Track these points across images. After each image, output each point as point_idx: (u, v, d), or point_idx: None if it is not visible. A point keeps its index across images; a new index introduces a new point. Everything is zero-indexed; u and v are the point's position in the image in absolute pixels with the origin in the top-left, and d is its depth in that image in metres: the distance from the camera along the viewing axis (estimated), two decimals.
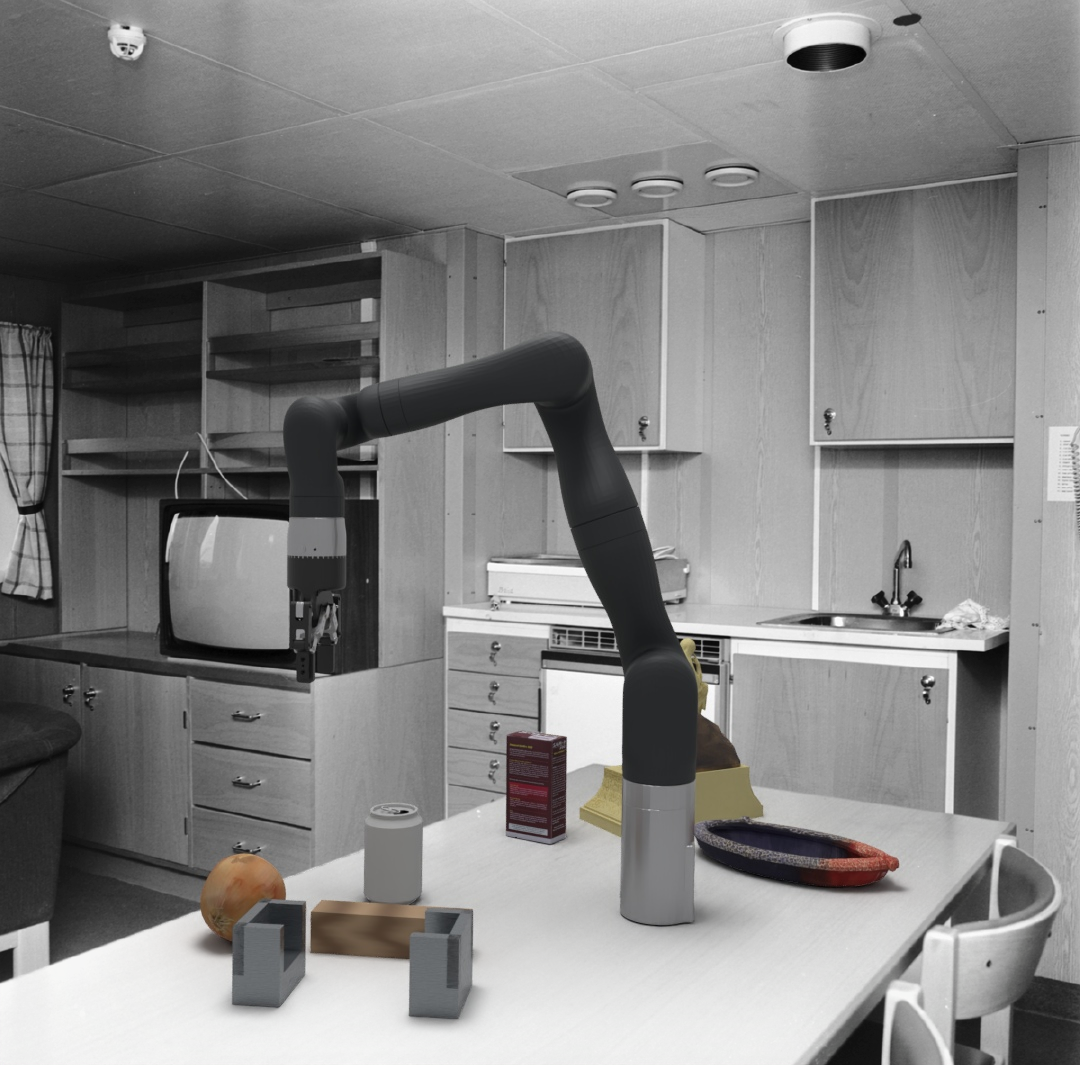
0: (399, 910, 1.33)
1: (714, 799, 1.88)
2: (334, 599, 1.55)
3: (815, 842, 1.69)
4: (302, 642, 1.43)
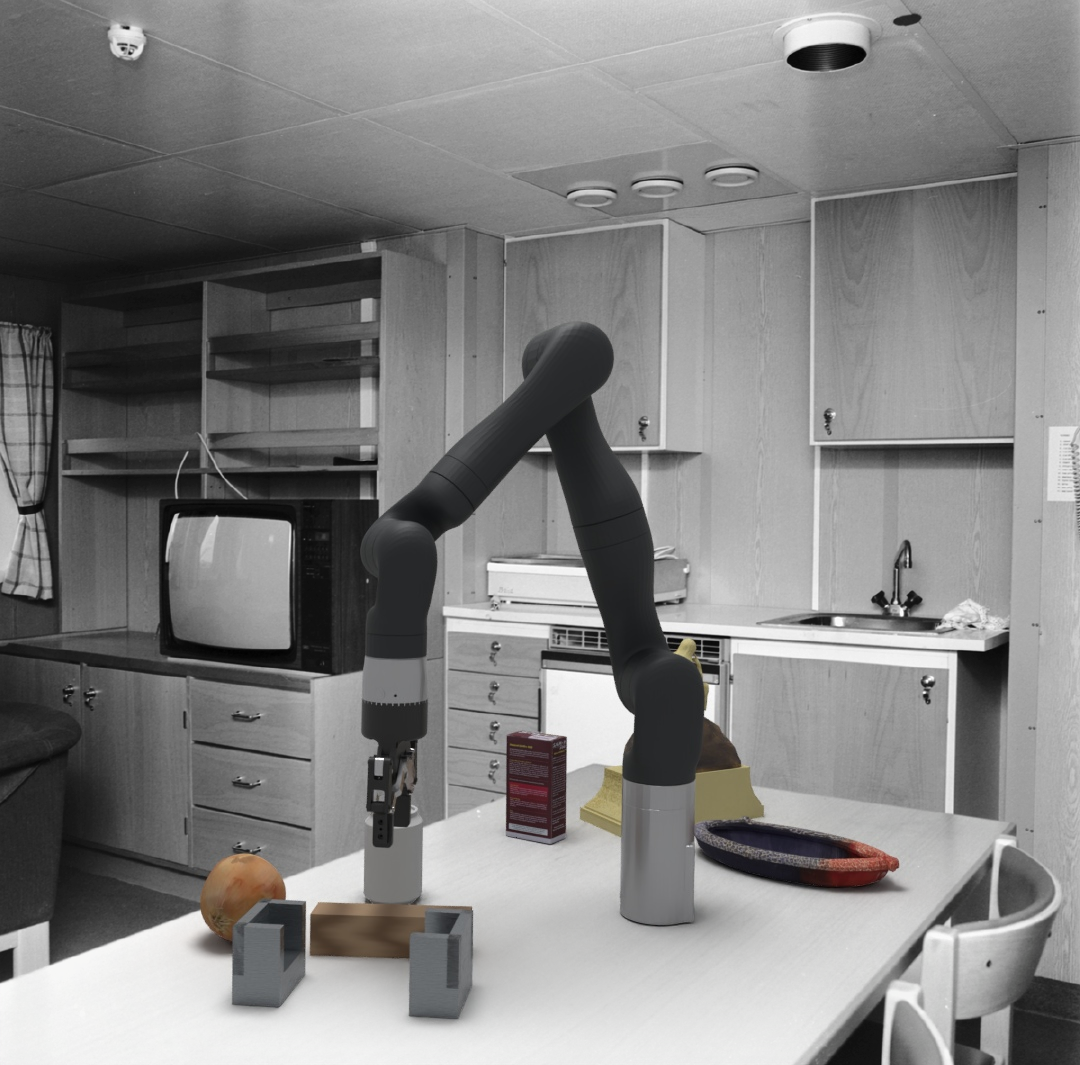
0: (399, 910, 1.33)
1: (715, 799, 1.88)
2: (410, 742, 1.38)
3: (816, 842, 1.69)
4: (381, 804, 1.26)
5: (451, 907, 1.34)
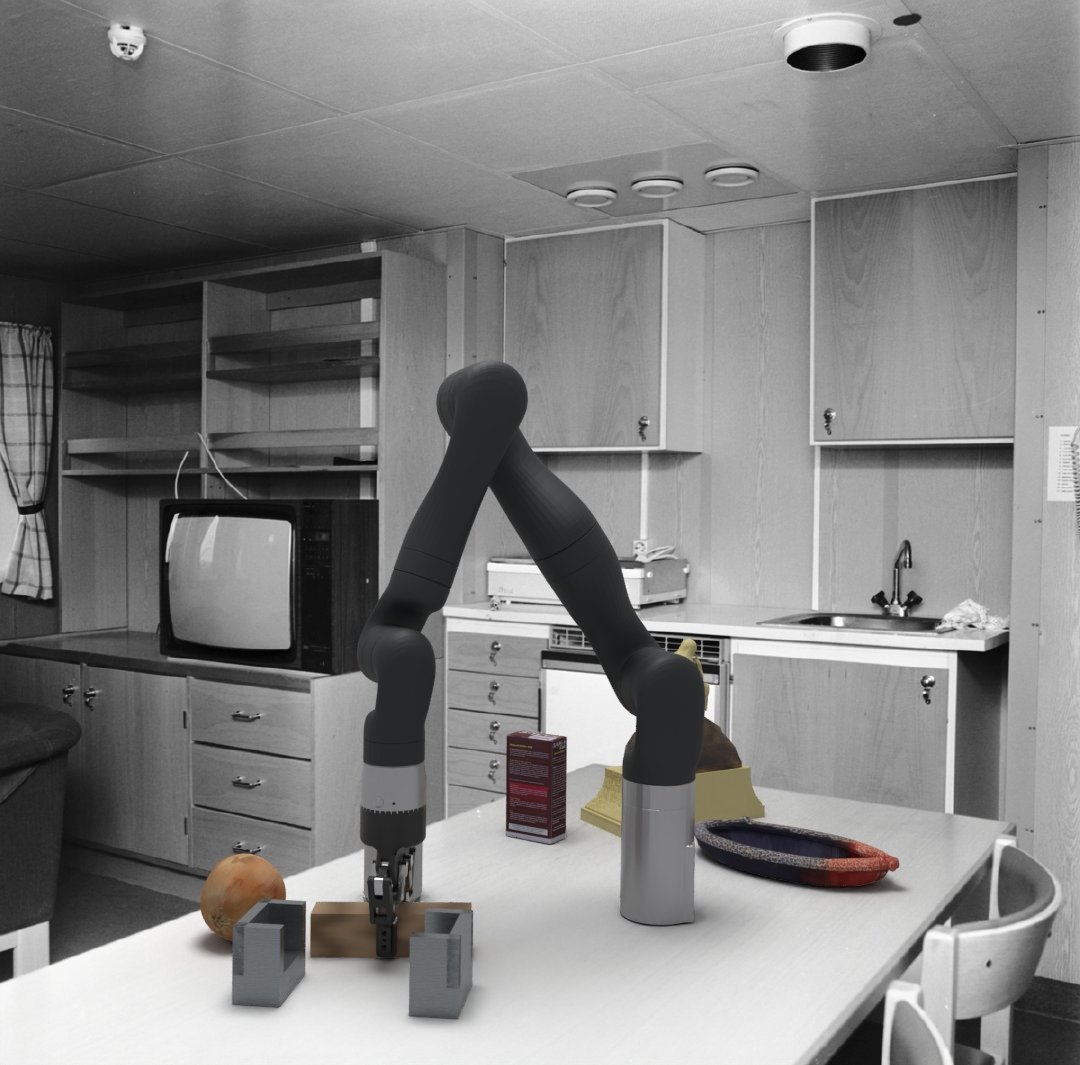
0: (399, 907, 1.33)
1: (715, 799, 1.88)
2: (409, 850, 1.38)
3: (816, 842, 1.69)
4: (385, 917, 1.28)
5: (451, 903, 1.34)
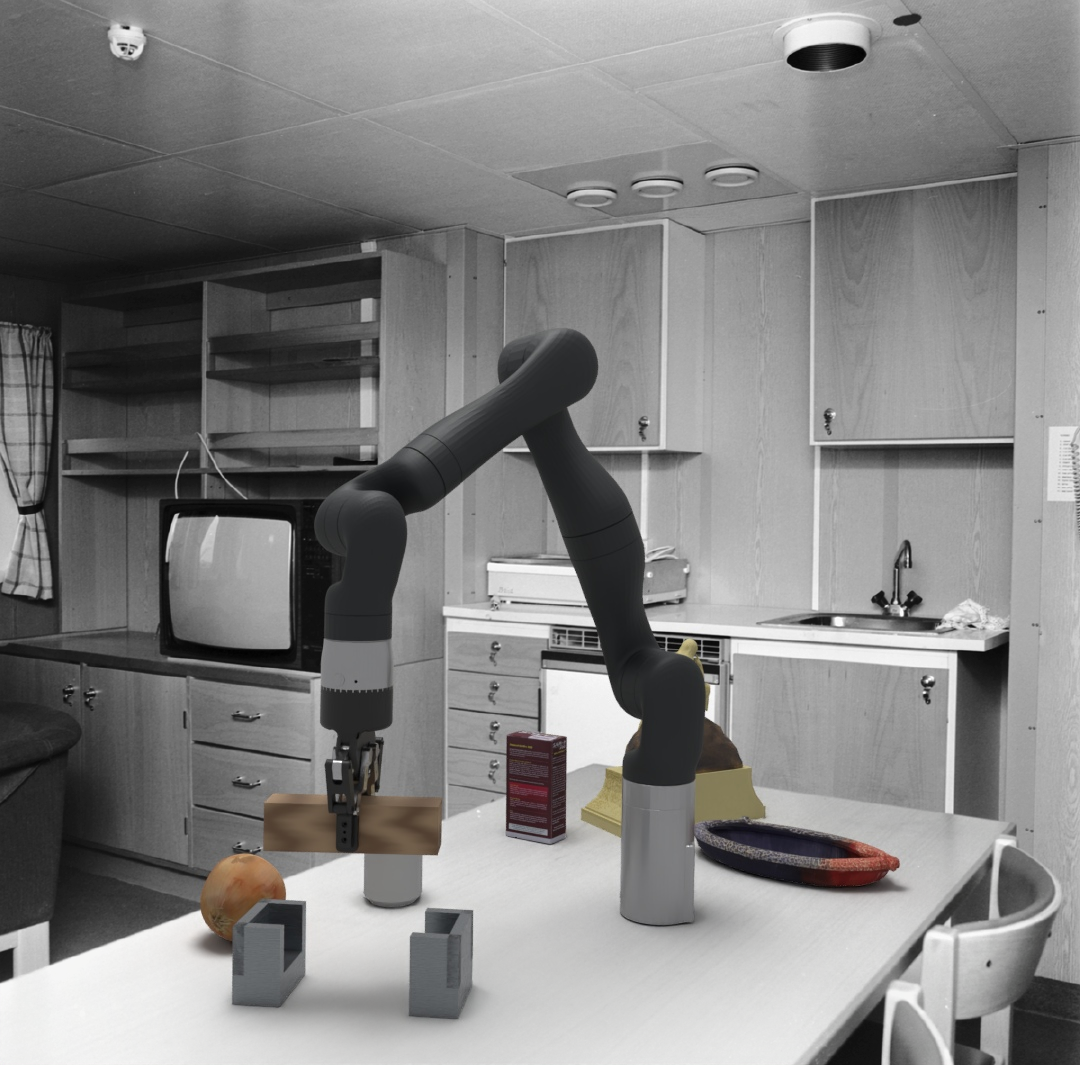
0: (362, 800, 1.21)
1: (716, 800, 1.87)
2: (376, 742, 1.27)
3: (816, 842, 1.69)
4: (344, 805, 1.16)
5: (419, 798, 1.23)
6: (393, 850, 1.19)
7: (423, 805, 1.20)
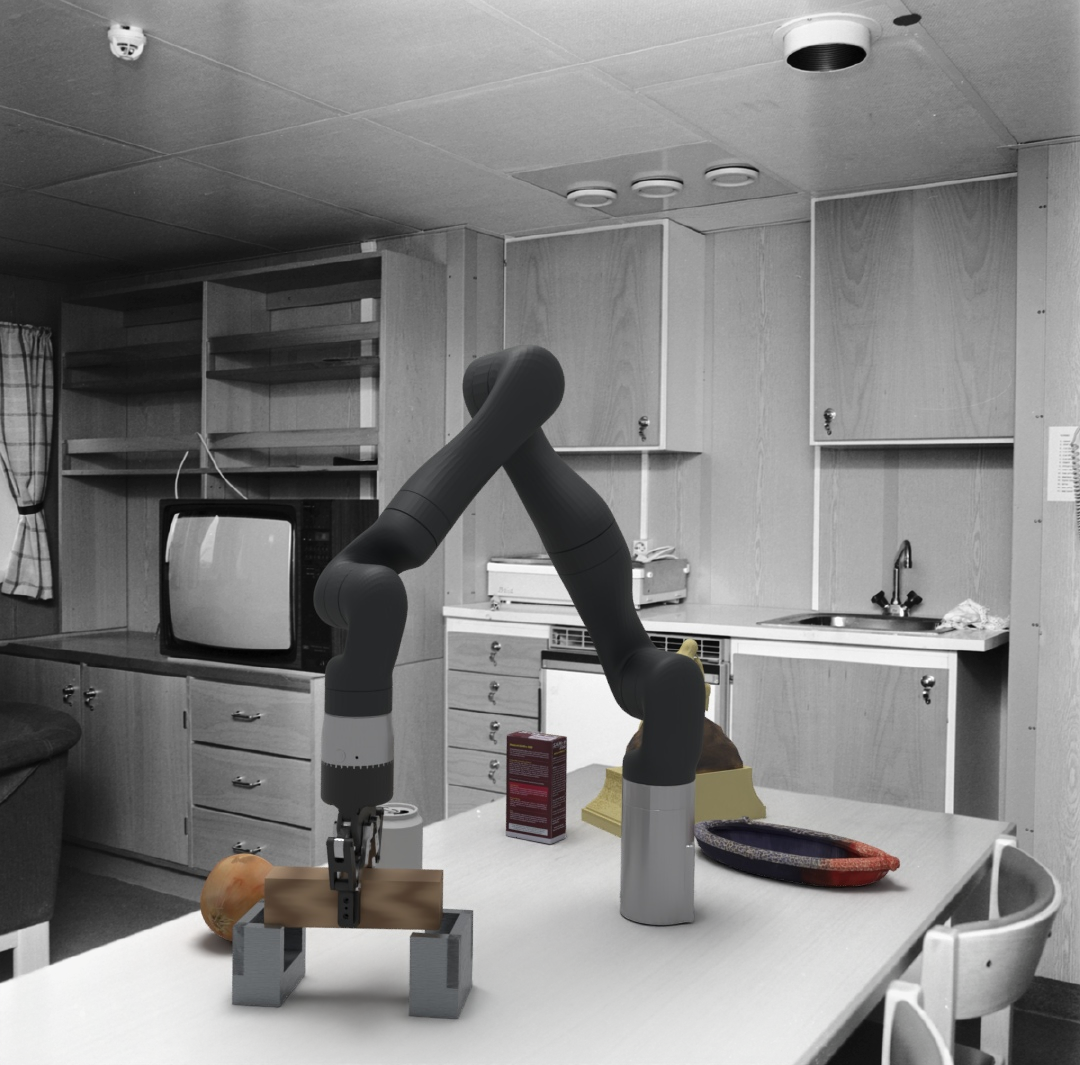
0: (363, 873, 1.21)
1: (717, 800, 1.87)
2: (376, 812, 1.26)
3: (815, 842, 1.69)
4: (346, 883, 1.16)
5: (420, 870, 1.22)
6: (394, 925, 1.19)
7: (424, 879, 1.19)
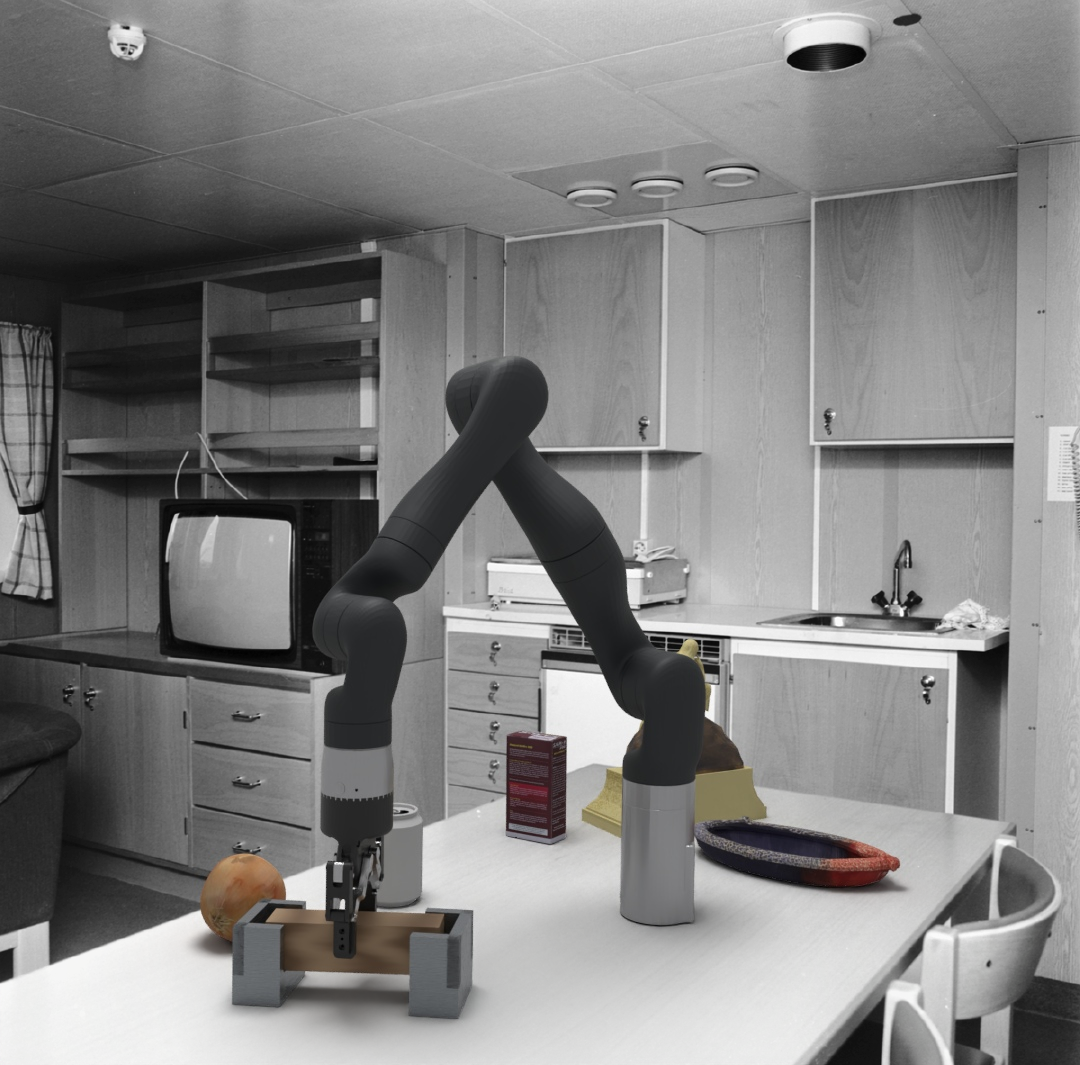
0: (363, 917, 1.21)
1: (717, 800, 1.87)
2: None
3: (816, 842, 1.69)
4: (342, 914, 1.14)
5: (421, 914, 1.22)
6: (394, 970, 1.19)
7: (424, 925, 1.19)
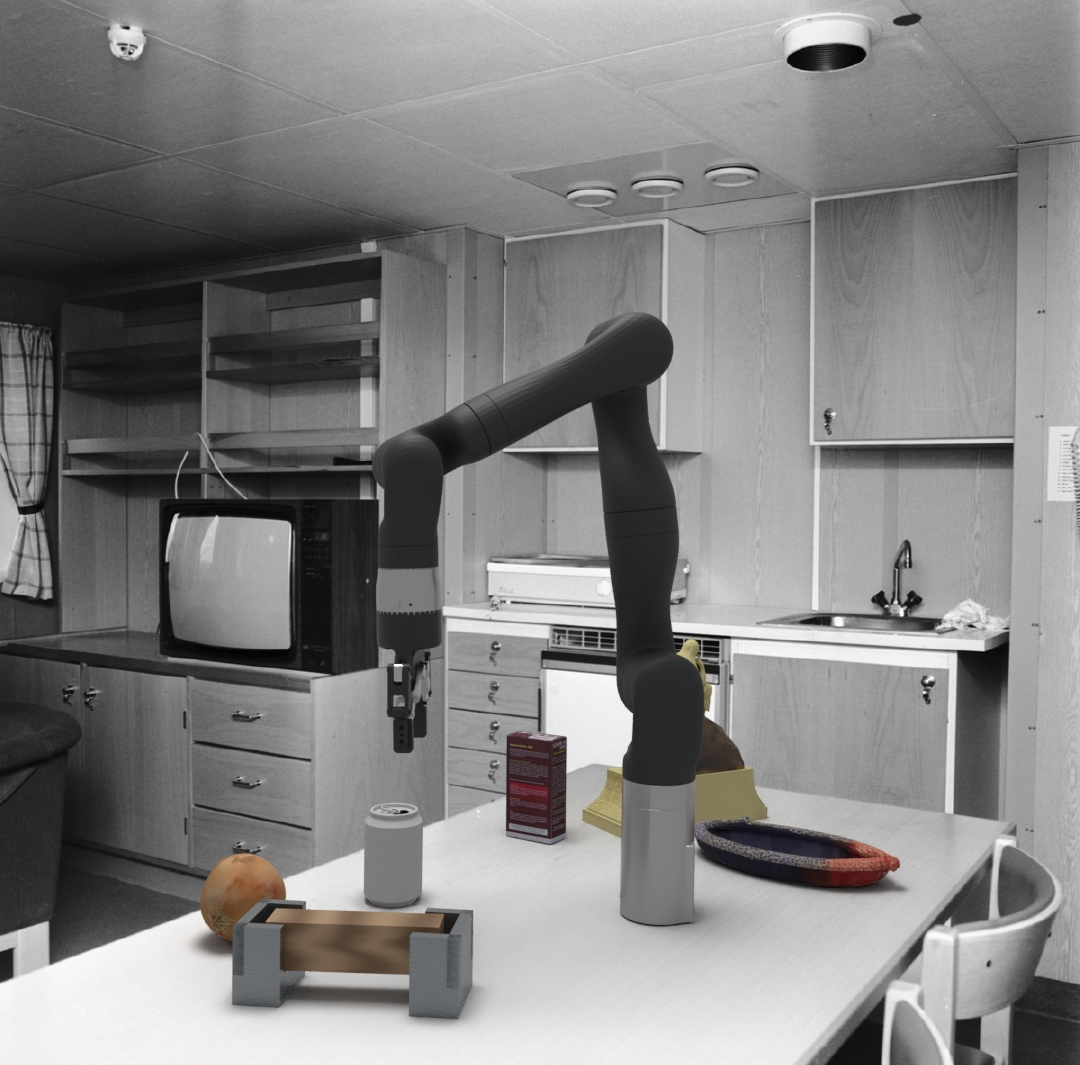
0: (363, 917, 1.21)
1: (718, 801, 1.87)
2: (424, 655, 1.41)
3: (816, 842, 1.69)
4: (402, 709, 1.28)
5: (421, 914, 1.22)
6: (394, 970, 1.19)
7: (424, 925, 1.19)
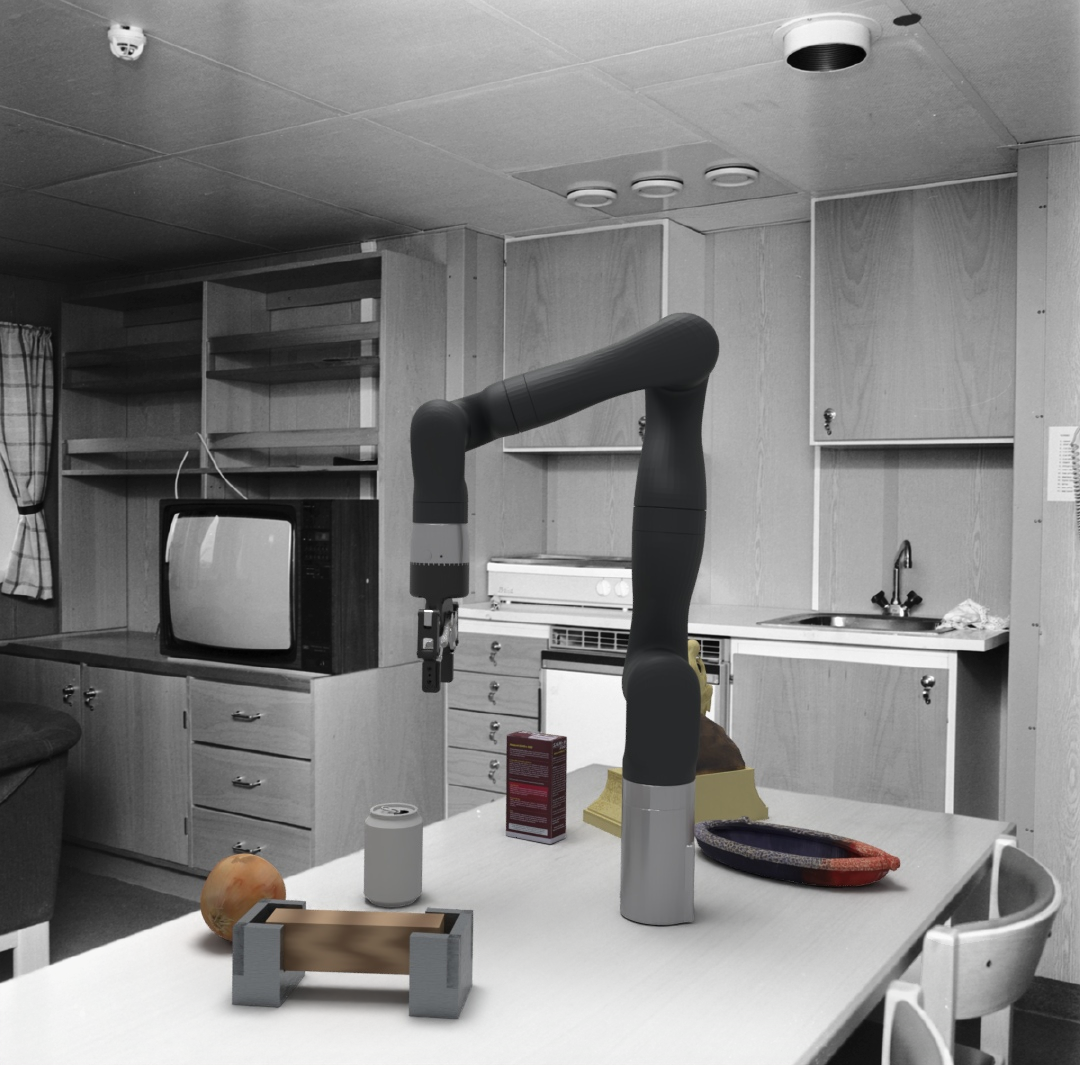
0: (363, 917, 1.21)
1: (719, 801, 1.87)
2: (452, 607, 1.52)
3: (816, 842, 1.69)
4: (430, 651, 1.40)
5: (421, 914, 1.22)
6: (394, 970, 1.19)
7: (424, 925, 1.19)
